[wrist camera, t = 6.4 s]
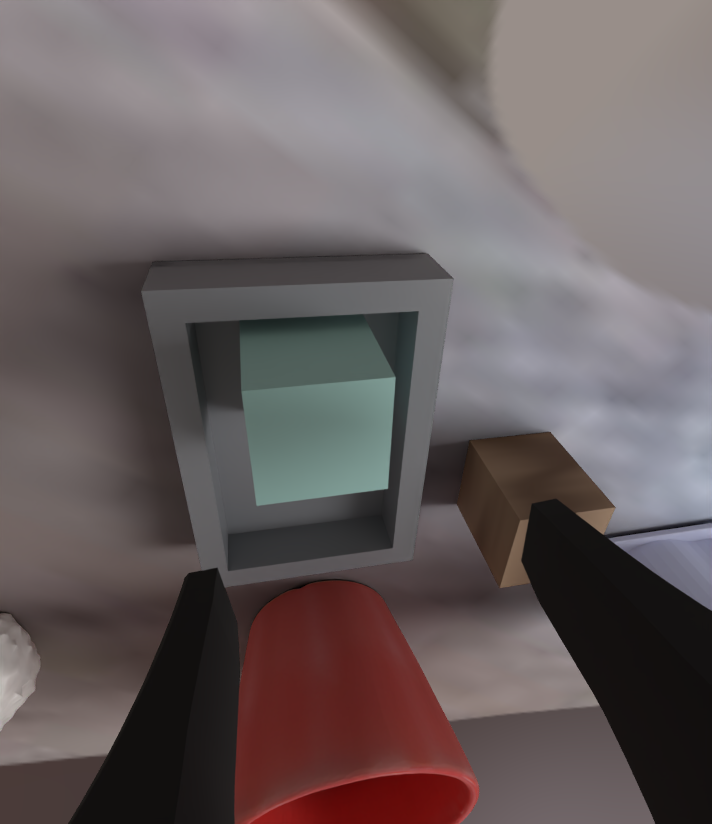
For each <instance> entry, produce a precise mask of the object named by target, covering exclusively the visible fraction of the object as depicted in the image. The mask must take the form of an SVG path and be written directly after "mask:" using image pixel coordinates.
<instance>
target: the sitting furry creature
mask: <svg viewBox="0 0 712 824" xmlns="http://www.w3.org/2000/svg"><path fill="white" fill-rule="evenodd" d="M40 657H41V656H40V655H39V654H38V653H37V650H36V647H35V644H34V642H33V641H31V637H30V636H29V634H28V633H27V631H26V630H24V629H23V628H22V627H21V625H19V624H18V623H17V622H16V620H15V618H13V617H12V614H8V613H1V612H0V731H1V730H2V728H3V726H4V724H5V723H7V722H8V721H9V720H11V718H12V717H13V715H14V714H15V712H16V710H17V709H18V708H19V707H20V706H22V705H23V704H24V702H26V700H27V698H28V697H29V696H30V695H31V694H32V693H33V692H34V691H35V690H36V689H35V680H36V676H37V674H38V672H39V670H40V665H41V661H40Z"/></svg>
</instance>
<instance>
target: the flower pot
mask: <svg viewBox="0 0 712 824" xmlns="http://www.w3.org/2000/svg"><path fill="white" fill-rule="evenodd" d="M478 797H479V785H478V782H477V779H476V777H475V775H474V772H473V770H472V768H471V766H470V764H469V762H468V760H467V758H466V756H465V753H464V751H463V750H462V748H461V746H460V743H459V742H458V740H457V737H456V735H455V734H454V731H453V729H452V727H451V725H450V724H449V722H448V720H447V718H446V716H445V714H444V712H443V710H442V708H441V706H440V704H439V702H438V700H437V698H436V696H435V695H434V693H433V691H432V689H431V687H430V685H429V683H428V681H427V679H426V677H425V675H424V673H423V671H422V669H421V667H420V665H419V663H418V661H417V660H416V658H415V656H414V654H413V652H412V650H411V648H410V647H409V645H408V643H407V641H406V639H405V638H404V636H403V634H402V632H401V630H400V629H399V627H398V625H397V623H396V621H395V620H394V618H393V616H392V614H391V612H390V610H389V609H388V607H387V605H386V603H385V601H384V600H383V599H382V597H381V596H380V595H379V594H378V593H377V592H376V591H374V590H373V589H371V588H369V587H367V586H365V585H362V584H359V583H355V582H350V581H341V580H328V581H319V582H314V583H310V584H307V585H306V586H304V587H302V588H300V589H292V590H289V591H287V592H285V593H283V594H281V595H279V596H277V597H276V598H274V599H273V600H272V601H270V602H269V603H268V604H267V605H265V606H264V607H263V608H262V610H261V611H260V612H259V613H258V614H257V616H256V617H255V619H254V621H253V623H252V626H251V629H250V633H249V639H248V644H247V649H246V654H245V660H244V665H243V670H242V676H241V681H240V686H239V706H238V727H237V748H236V769H235V802H234V815H235V824H459V823H461V822H462V821H463V820H464V819H465V818H466V817H467V816H468V814H469V813H470V812H471V811H472V809H473V808H474V806H475V804H476V802H477V800H478Z"/></svg>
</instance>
